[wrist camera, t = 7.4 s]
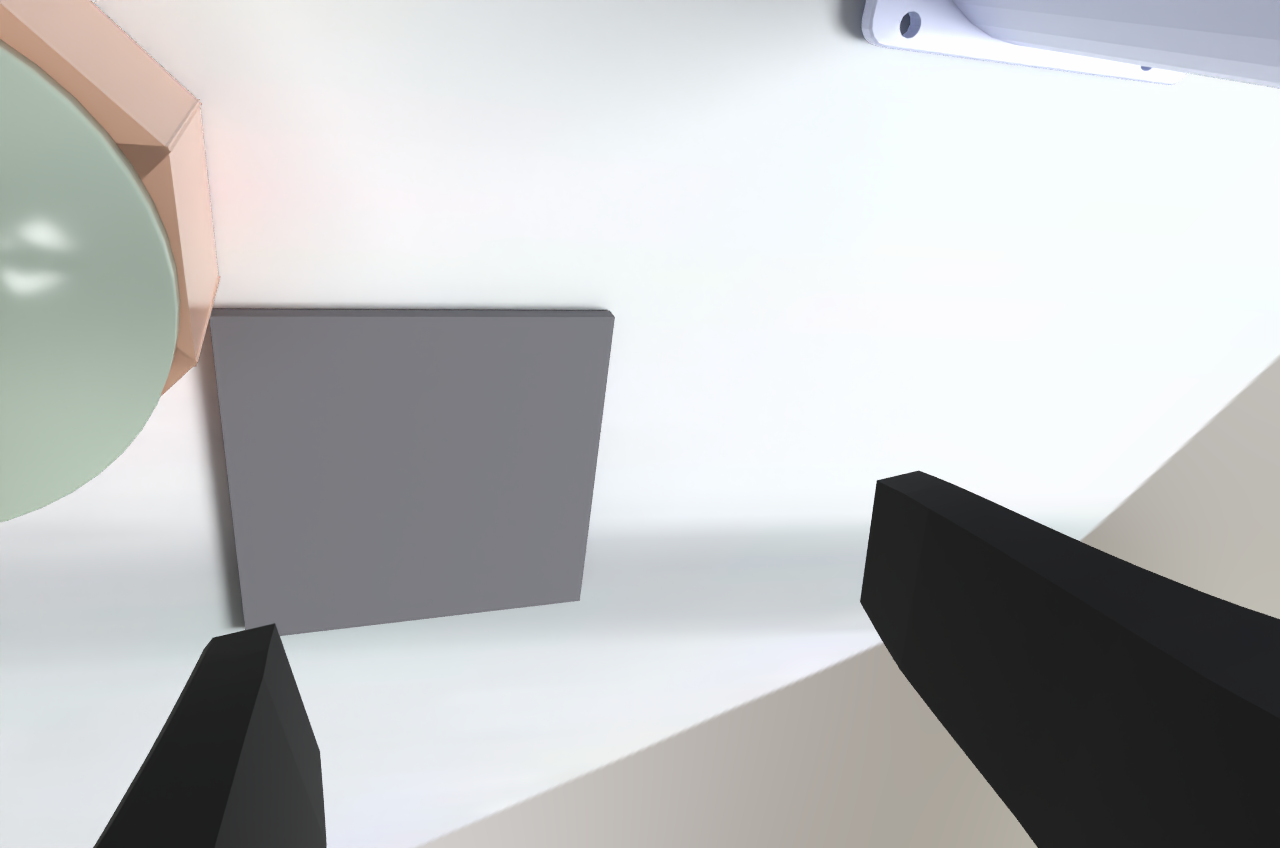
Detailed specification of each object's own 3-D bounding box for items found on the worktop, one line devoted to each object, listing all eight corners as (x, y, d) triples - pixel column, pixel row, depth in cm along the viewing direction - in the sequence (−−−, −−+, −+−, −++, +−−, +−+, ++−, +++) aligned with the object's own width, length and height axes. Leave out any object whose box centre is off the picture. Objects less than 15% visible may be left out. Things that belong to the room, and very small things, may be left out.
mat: (609, 310, 20) (614, 317, 19) (575, 591, 24) (579, 600, 23) (210, 309, 17) (209, 316, 17) (247, 628, 21) (246, 640, 20)
